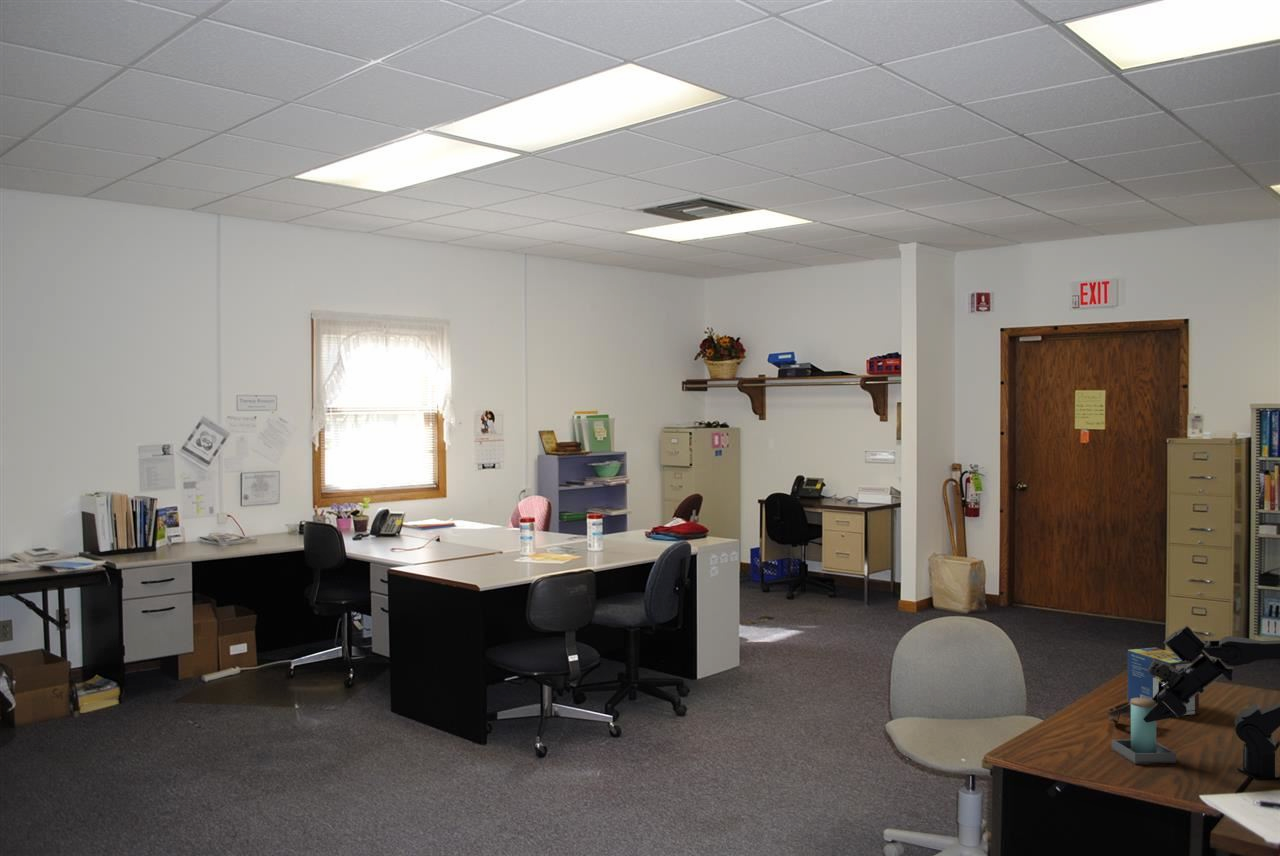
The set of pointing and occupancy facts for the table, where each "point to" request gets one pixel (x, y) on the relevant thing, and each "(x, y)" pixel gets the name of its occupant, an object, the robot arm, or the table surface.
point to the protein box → (1146, 683)
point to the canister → (1142, 726)
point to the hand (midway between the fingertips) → (1145, 715)
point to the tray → (1141, 758)
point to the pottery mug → (1120, 711)
